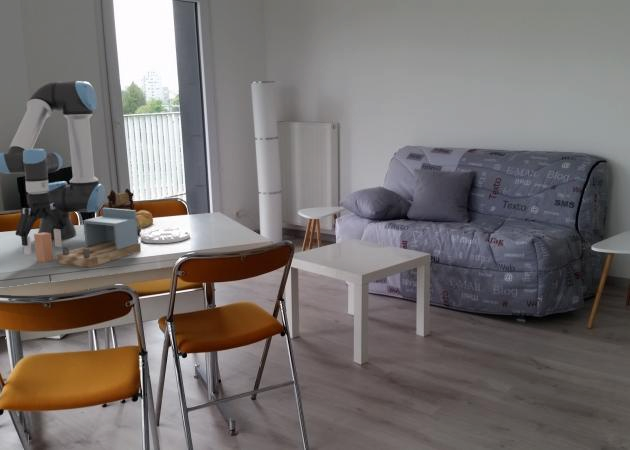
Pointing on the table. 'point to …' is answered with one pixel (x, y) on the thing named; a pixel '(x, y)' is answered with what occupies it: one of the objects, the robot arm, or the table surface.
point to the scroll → (121, 202)
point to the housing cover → (112, 228)
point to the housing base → (95, 254)
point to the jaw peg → (43, 247)
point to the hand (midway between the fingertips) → (43, 250)
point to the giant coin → (164, 235)
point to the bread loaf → (144, 218)
